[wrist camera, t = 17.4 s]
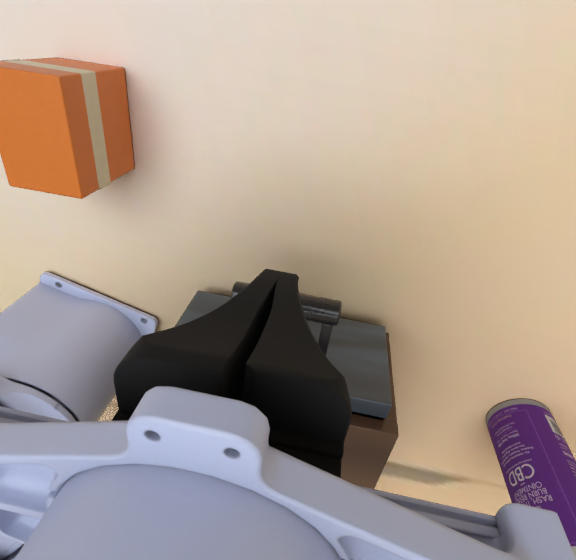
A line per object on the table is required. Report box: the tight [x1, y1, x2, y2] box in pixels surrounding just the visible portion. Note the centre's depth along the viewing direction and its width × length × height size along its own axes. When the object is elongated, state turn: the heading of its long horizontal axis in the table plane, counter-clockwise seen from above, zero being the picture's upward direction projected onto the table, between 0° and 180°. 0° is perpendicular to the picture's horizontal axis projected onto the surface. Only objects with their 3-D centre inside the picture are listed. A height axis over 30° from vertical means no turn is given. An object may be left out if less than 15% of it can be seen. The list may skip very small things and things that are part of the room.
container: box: [486, 399, 576, 558], centre depth 24 cm, size 5×5×15 cm
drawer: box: [175, 282, 392, 418], centre depth 27 cm, size 18×13×7 cm
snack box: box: [0, 57, 134, 199], centre depth 20 cm, size 6×4×6 cm
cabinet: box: [179, 302, 398, 489], centre depth 29 cm, size 15×15×9 cm
